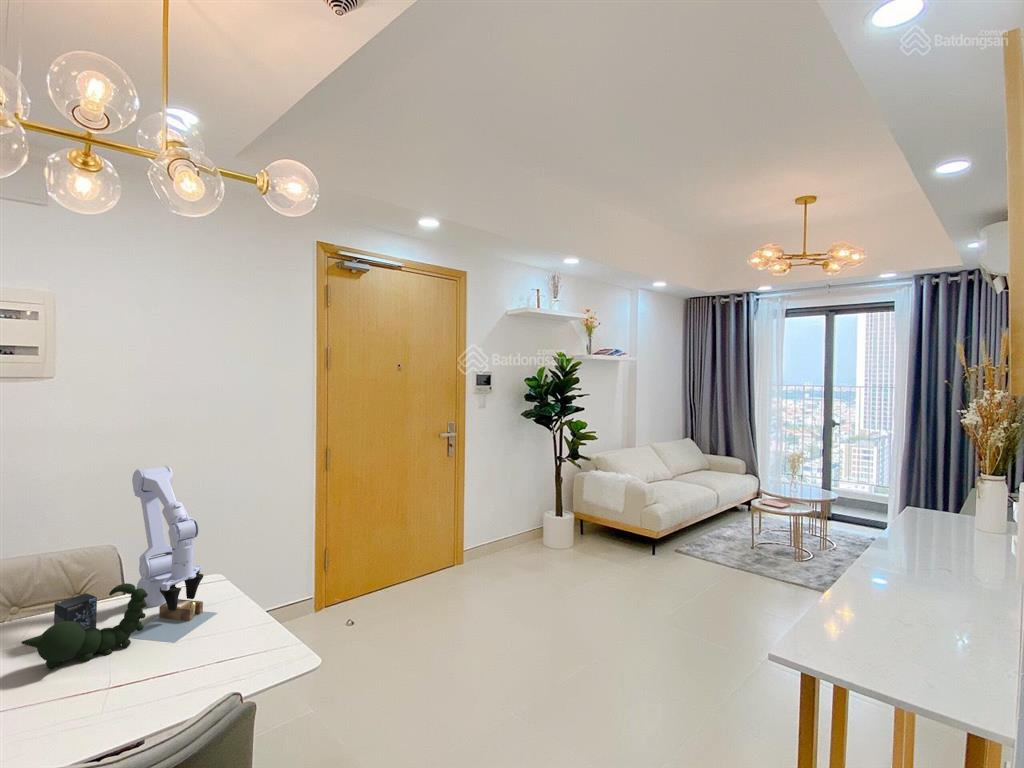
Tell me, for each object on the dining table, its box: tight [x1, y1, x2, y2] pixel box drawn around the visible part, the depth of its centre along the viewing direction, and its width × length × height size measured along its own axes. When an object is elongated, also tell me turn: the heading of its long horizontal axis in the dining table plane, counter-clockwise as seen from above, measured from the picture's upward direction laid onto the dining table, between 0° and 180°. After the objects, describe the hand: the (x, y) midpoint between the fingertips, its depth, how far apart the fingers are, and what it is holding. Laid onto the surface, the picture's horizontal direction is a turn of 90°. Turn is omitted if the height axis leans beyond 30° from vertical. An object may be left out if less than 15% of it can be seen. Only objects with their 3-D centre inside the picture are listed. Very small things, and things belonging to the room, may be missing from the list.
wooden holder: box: [158, 598, 204, 621], centre depth 160 cm, size 10×6×4 cm, turn 84°
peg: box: [189, 602, 196, 617], centre depth 159 cm, size 2×2×4 cm
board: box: [128, 610, 218, 644], centre depth 155 cm, size 16×18×1 cm
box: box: [53, 592, 98, 629], centre depth 147 cm, size 8×6×11 cm
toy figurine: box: [21, 582, 148, 671], centre depth 136 cm, size 9×19×25 cm
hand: (181, 604), depth 160 cm, fingers open, 7 cm apart
